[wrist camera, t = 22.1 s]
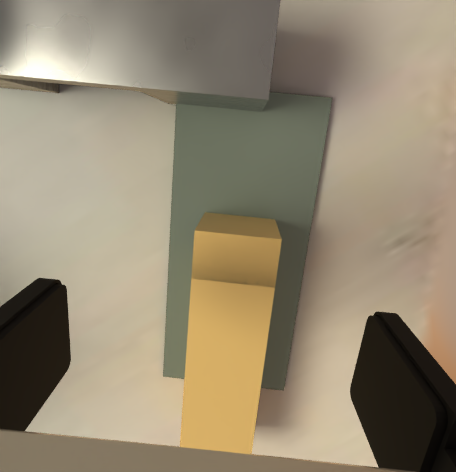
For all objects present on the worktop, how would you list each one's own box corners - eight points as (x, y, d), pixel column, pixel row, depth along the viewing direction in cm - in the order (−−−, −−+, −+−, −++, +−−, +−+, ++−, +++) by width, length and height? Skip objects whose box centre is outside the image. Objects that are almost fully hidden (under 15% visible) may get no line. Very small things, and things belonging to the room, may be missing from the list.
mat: (178, 84, 18) (177, 83, 18) (330, 98, 18) (332, 97, 18) (164, 372, 23) (163, 376, 23) (283, 386, 23) (283, 390, 23)
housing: (-41, -5, 18) (-425, -193, 8) (271, 23, 17) (305, -137, 7) (-31, 88, 19) (-350, 32, 9) (260, 116, 18) (277, 91, 8)
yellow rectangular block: (204, 212, 20) (194, 230, 16) (274, 219, 20) (281, 239, 16) (189, 424, 24) (177, 479, 20) (246, 431, 24) (246, 487, 20)
